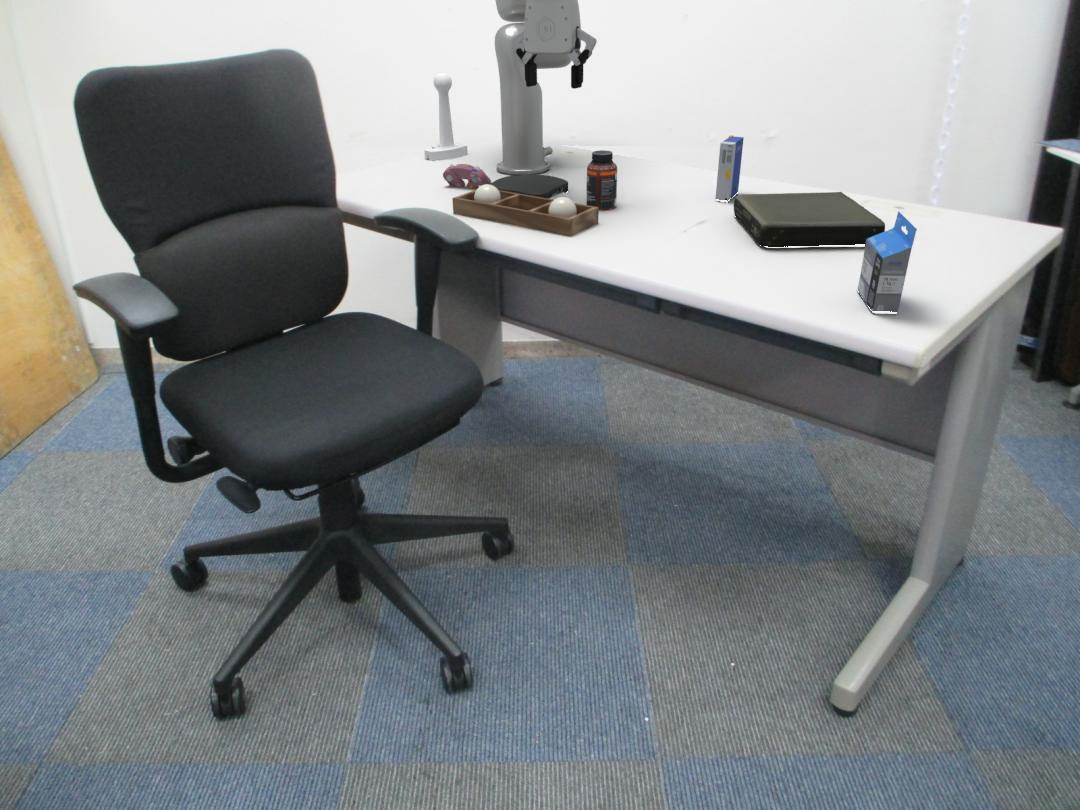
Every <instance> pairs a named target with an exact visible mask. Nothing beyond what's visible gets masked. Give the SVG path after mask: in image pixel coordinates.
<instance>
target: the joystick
mask: <svg viewBox="0 0 1080 810" xmlns="http://www.w3.org/2000/svg"><path fill="white" fill-rule="evenodd" d="M433 86H434V87H435V90H436V91H437V93H438V115H439V116H438V117H439V118H438V120H439V121H438V123H439V125H438V126H439V144H433V145H431V148H428V149H427V148H425V149H424V150H423V151H424V158H425V159H427V158H428V161H430V160H431V161H430V162H437V161H436V160H438V161H444V160H451V159H452V160H453V159H457V158H461V157H464V156H467V155H468V145H467V144H463V143H457V144H455V142H454V141H455V140H454V133H453V124H452V123H453V122H452V114H451V106H450V98H449V91H450V90H451V88H452V86H453V80H452V78H451V76H450V74H448V73H446V72H439V73H437V74H436V75H435V76H434V78H433Z"/></svg>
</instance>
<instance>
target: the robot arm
mask: <svg viewBox="0 0 1080 810" xmlns="http://www.w3.org/2000/svg"><path fill="white" fill-rule="evenodd" d="M494 1H495V7H496V9H497V14H498V15H499V17H500V18H501V20H504V22H508V23H507V24H505V25H502V26H501V27H499V29H497V31H496V32H495V35H494V50H495V56H496V62H497V67H498V74H499V75H498V77H499V78H498V79H499V90H500V92H499V93H500V113H501V114H500V118H501V145H502V147H501V149H502V152H501V153H502V161H500V162H498V163H497V164H496V171H497V172H499V173H501V174H505V175H511V176H517V175H530V174H538V175H539V174H542V173H545V171H546V172H547V170H548V171H549V170H550V167H551V166H550V165H551V164H550V163H549V162H548V161H546V160H545V158H546V156H547V157H548V156H550V155H552V154H553V148H552V147H551V146H546V147H545V146H544V139H543V137H544V136H543V135H544V134H543V133H544V131H543V129H544V128H543V125H544V124H543V122H544V121H543V90H542V87H541V84H540V83H539V82H538V70H545V69H548V70H549V69H560V68H561V69H562V68H565V67H567V66H569V65H570V64H571V62H572V63H573V64H572V65H571V66H570V87H571V89H579V88H582V86H583V83H584V65H585V64H586V63H587V61H588V60H589V58H590V57H591V56H592V55H593V51H594V49H595V47H596V45H597V43H598V42H597V41H598V40H597V38H596V37H594V36H593V35H591V34H589V33H588V32H586V31H584V30H583V29H582V24H581V23H582V22H581V16H580V15H581V14H580V7H579V6H580V5H579V0H494ZM582 42H584V43H585V46H584V49H583V50H582V51H581V50H580V49H581V47H582Z"/></svg>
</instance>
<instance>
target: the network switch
mask: <svg viewBox="0 0 1080 810" xmlns="http://www.w3.org/2000/svg"><path fill="white" fill-rule="evenodd" d="M733 201H734V202H733V214H734V217H735V216H736V217H735V219H736V218H737V219H738V220H739V221H738V220H737V219H736V220H737V221H738V222H739V223H741V225H742V226H743V228H744V229H745V230H746V231H747V232H748V233H749V234H750V236H751V237H752V238H753V240H754V242H755V241H756V242H755V244H756V243H758V244H759V245H761V246H768V247H784V246H785V247H786V246H787V247H788V246H819V245H855V244H866V239H867V238H870V237H872V236H875V235H877V234H880V233H882V232H885V231H886V223H885V222H884V221H883V220H882V219H881V218H880V217H878V216H877V215H875V214H874V213H872V212H871V211H869V210H868V209H866V208H865V207H864V206H863V205H861V204H859V203H858V202H857V201H856V200H854V199H852V198H851V197H850V196H847V195H846V194H845V193H843V192H842V191H834V192H833V191H831V192H828V191H827V192H788V193H750V194H749V193H747V194H746V193H741V194H739V195H736V196H735V197H734V200H733ZM758 244H757V245H758ZM759 245H758V246H759ZM761 246H760V247H761Z"/></svg>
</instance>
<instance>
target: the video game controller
mask: <svg viewBox="0 0 1080 810" xmlns="http://www.w3.org/2000/svg"><path fill="white" fill-rule="evenodd" d="M442 177H443V179H444V181H446V182H447V184H448V185H449V186H451V185H452V186H453V187H460V188H462V187H465V186H466V187H467V188H469V189H478V188H479V187H480V186H482V185H485V184H491V183H492V180H491V178H490V177H489V176H488V175H487V174H486V172H485V171H484V170H483V169H481V168H480V167H479V166H473V165H471V164H468V163H459V164H456V165H454V164H450V166H448V167H446V169H445V170H444V171H443V173H442ZM465 180H467V181H468V182H467V184H466V182H465Z"/></svg>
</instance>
